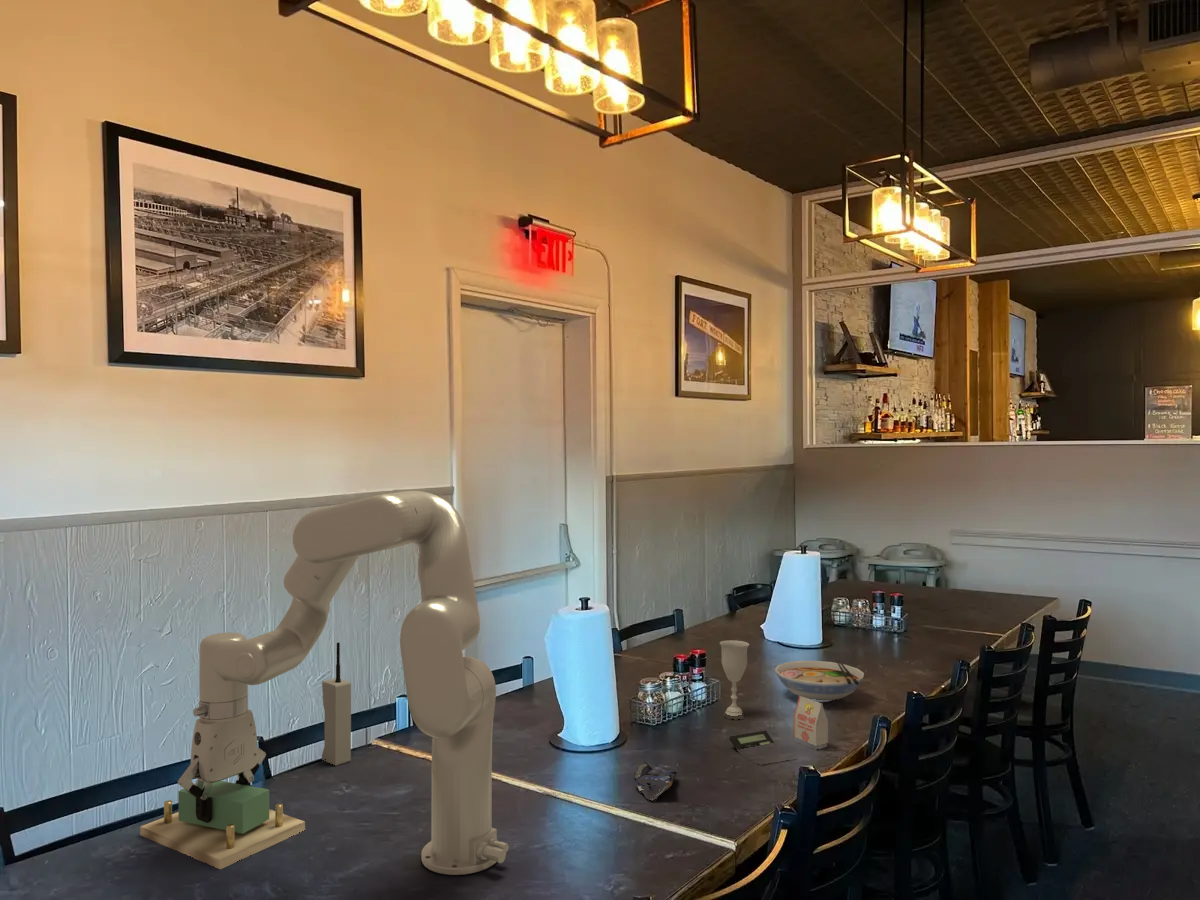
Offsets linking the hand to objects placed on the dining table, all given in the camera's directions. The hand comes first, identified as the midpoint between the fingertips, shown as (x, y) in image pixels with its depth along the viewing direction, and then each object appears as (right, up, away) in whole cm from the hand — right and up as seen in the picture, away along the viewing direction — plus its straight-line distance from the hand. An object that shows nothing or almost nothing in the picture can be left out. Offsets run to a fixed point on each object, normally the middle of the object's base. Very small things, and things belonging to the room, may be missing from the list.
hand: (223, 811), depth 144 cm
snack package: (+75, -4, +20) cm, 77 cm away
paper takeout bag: (+111, -4, +44) cm, 119 cm away
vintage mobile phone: (+9, -4, +33) cm, 35 cm away
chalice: (+97, -4, +64) cm, 116 cm away
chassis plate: (0, -4, 0) cm, 4 cm away
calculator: (+99, -4, +39) cm, 106 cm away
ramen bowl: (+122, -4, +79) cm, 145 cm away
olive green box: (0, -1, 0) cm, 1 cm away
